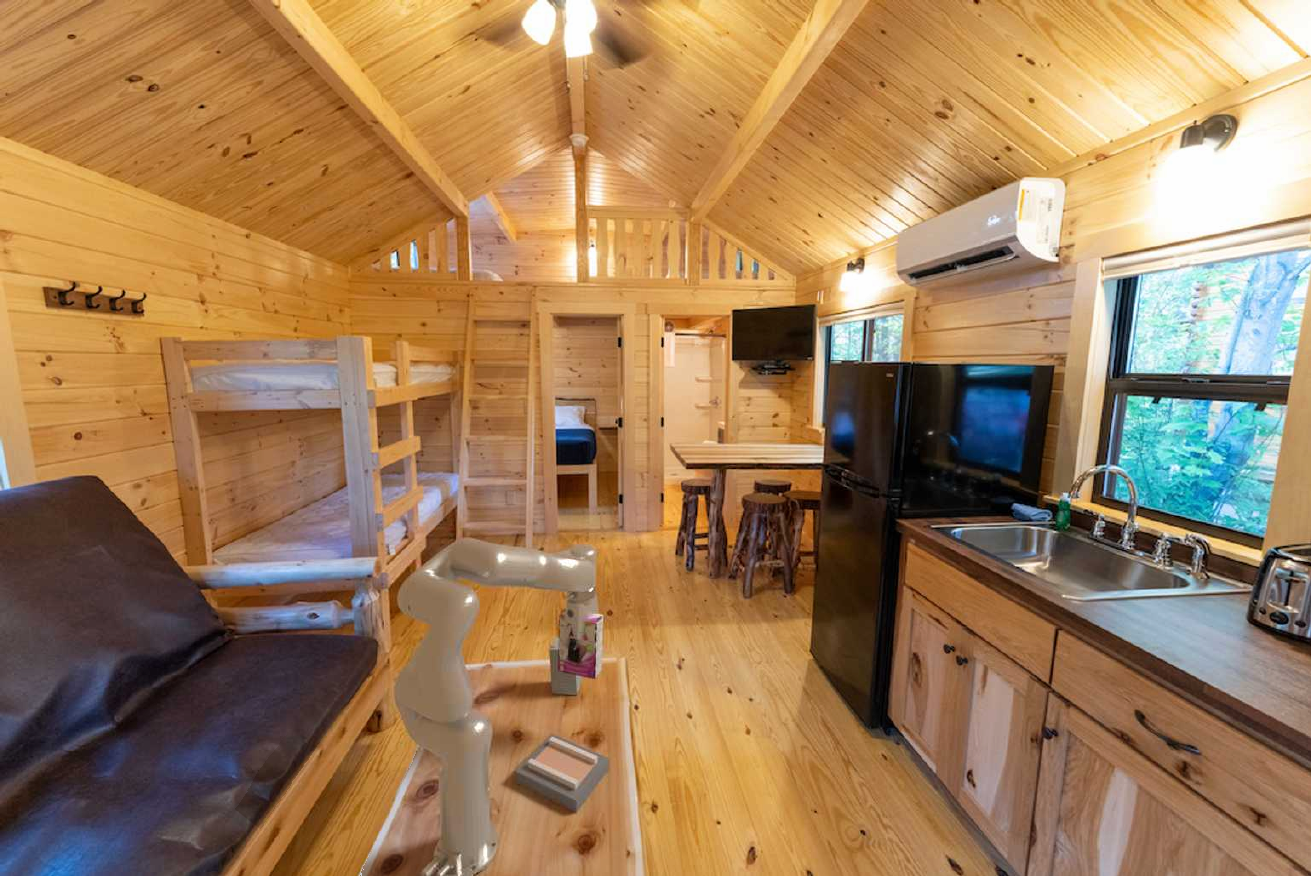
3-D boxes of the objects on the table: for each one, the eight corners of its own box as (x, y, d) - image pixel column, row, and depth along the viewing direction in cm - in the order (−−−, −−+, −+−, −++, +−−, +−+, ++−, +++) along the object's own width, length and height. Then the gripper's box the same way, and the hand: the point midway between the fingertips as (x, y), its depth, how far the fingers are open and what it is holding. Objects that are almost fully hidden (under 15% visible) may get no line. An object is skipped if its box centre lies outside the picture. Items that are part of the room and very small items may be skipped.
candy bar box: (557, 672, 136) (557, 615, 134) (565, 662, 141) (565, 606, 139) (595, 680, 133) (596, 622, 131) (602, 670, 138) (604, 613, 136)
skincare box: (582, 683, 160) (582, 636, 158) (576, 697, 153) (576, 649, 151) (556, 680, 161) (555, 634, 158) (549, 695, 154) (548, 647, 151)
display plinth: (576, 812, 115) (576, 795, 114) (515, 781, 123) (514, 765, 122) (609, 768, 127) (609, 752, 126) (551, 743, 135) (551, 728, 134)
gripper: (573, 608, 125) (573, 676, 127) (610, 583, 140) (609, 644, 142) (549, 601, 128) (549, 667, 130) (587, 577, 143) (586, 637, 146)
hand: (580, 654), depth 136 cm, fingers closed on candy bar box, 5 cm apart
